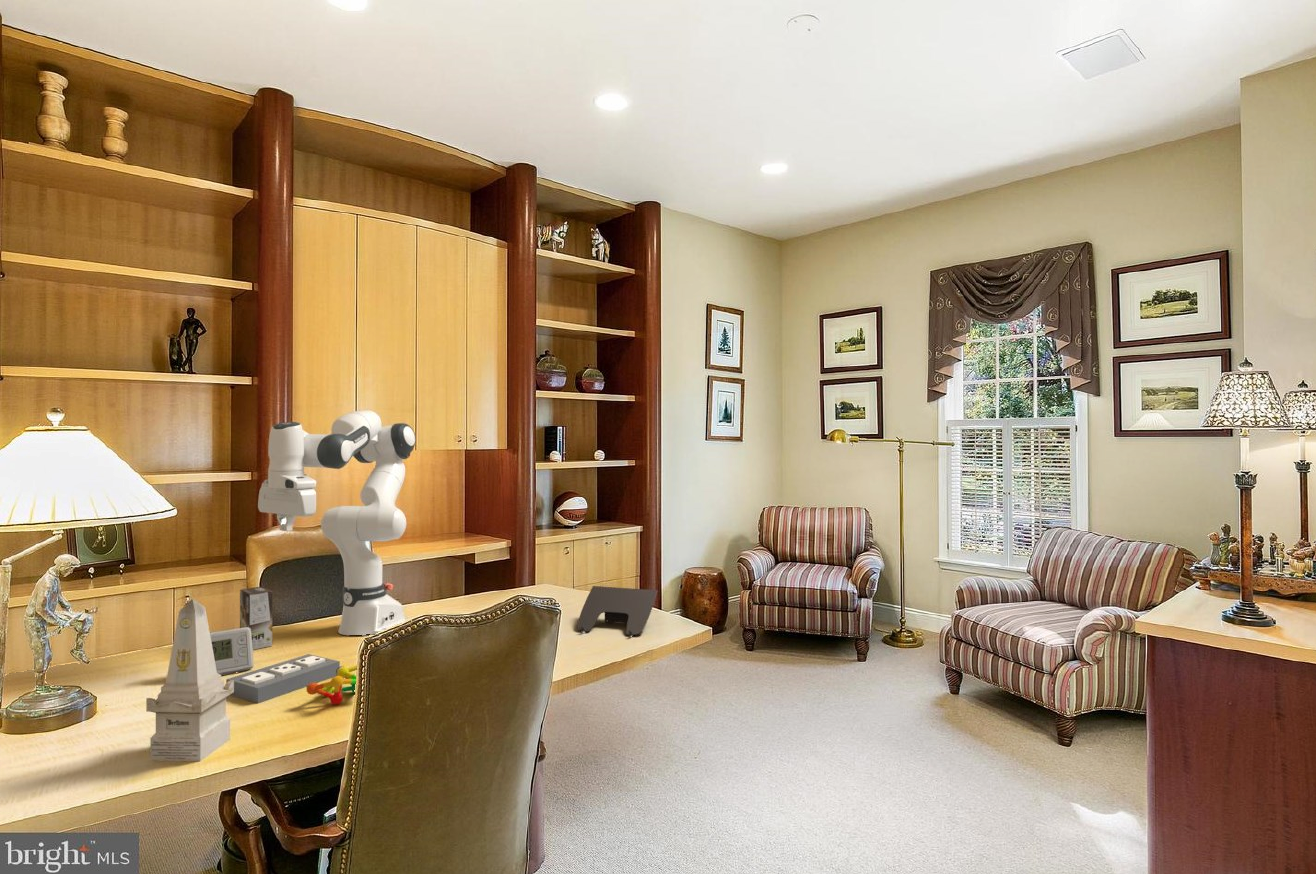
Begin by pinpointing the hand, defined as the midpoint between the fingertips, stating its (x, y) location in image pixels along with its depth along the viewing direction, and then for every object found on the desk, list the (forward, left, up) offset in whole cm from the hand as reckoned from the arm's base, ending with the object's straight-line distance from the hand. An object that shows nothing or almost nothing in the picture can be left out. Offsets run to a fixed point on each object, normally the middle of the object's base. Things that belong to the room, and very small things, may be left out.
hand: (286, 530), depth 199 cm
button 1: (+21, +20, -34) cm, 45 cm away
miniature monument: (+46, +37, -35) cm, 69 cm away
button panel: (+14, +20, -35) cm, 43 cm away
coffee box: (-2, -16, -35) cm, 39 cm away
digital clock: (+18, -2, -35) cm, 40 cm away
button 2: (+14, +20, -34) cm, 42 cm away
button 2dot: (+7, +20, -34) cm, 40 cm away
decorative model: (+13, +40, -35) cm, 55 cm away
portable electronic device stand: (-71, +65, -35) cm, 102 cm away
